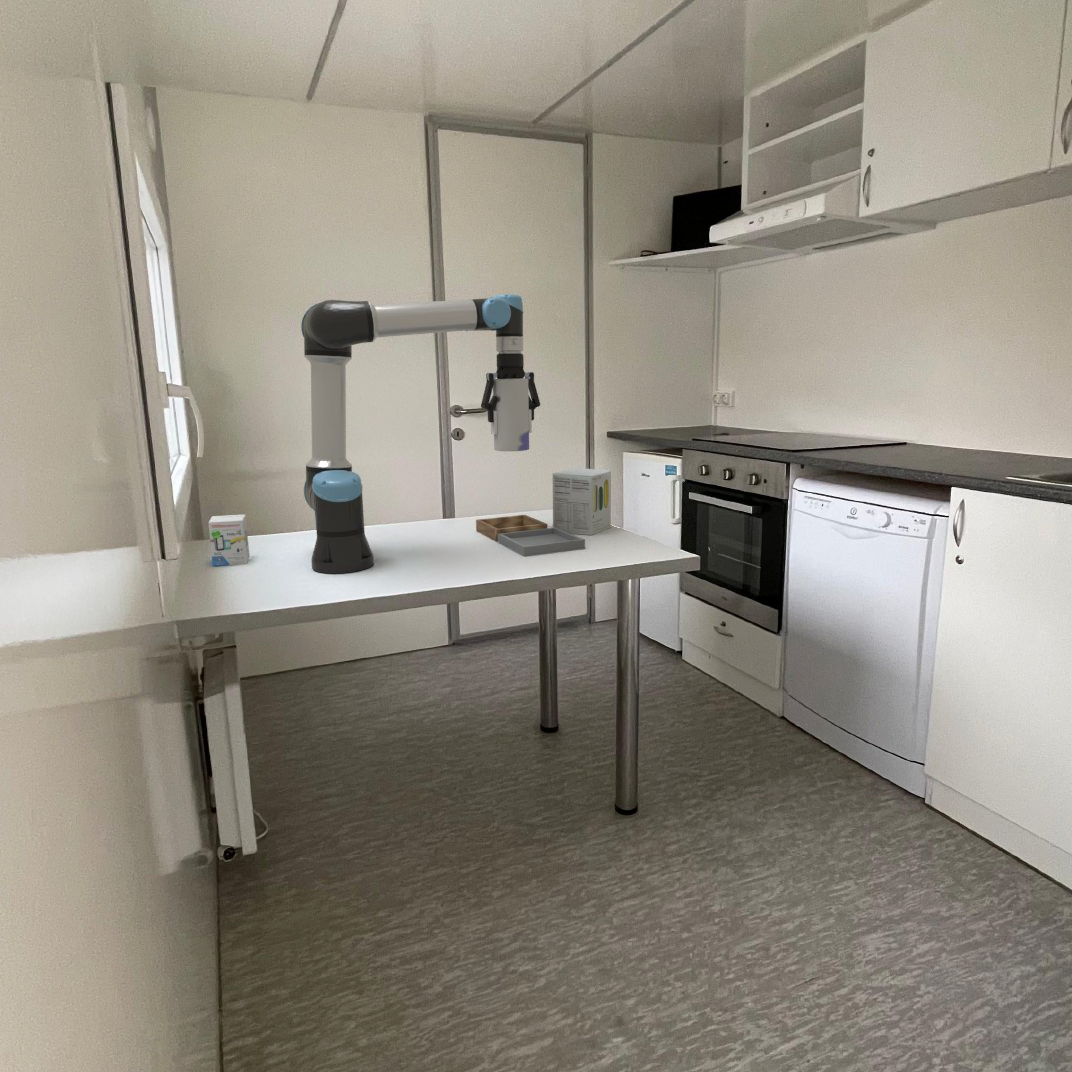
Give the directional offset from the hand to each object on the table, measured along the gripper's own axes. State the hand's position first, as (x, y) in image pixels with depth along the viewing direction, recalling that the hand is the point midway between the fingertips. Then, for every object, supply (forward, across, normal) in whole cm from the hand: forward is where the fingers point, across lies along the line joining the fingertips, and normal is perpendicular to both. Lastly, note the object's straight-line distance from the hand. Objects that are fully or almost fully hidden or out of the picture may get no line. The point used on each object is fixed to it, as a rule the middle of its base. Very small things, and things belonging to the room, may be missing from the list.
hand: (511, 433), depth 221 cm
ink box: (+30, -77, +8) cm, 83 cm away
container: (+5, 0, 0) cm, 5 cm away
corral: (+30, 0, +2) cm, 30 cm away
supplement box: (+30, +21, -4) cm, 37 cm away
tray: (+30, +1, -16) cm, 34 cm away
